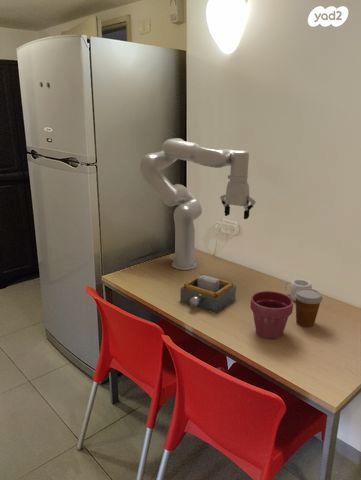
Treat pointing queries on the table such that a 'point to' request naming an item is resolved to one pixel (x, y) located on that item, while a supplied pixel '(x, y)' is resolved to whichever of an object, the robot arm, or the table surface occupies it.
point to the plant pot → (271, 313)
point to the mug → (297, 286)
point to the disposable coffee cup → (307, 306)
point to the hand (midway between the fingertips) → (236, 216)
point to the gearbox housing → (208, 295)
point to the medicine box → (208, 283)
